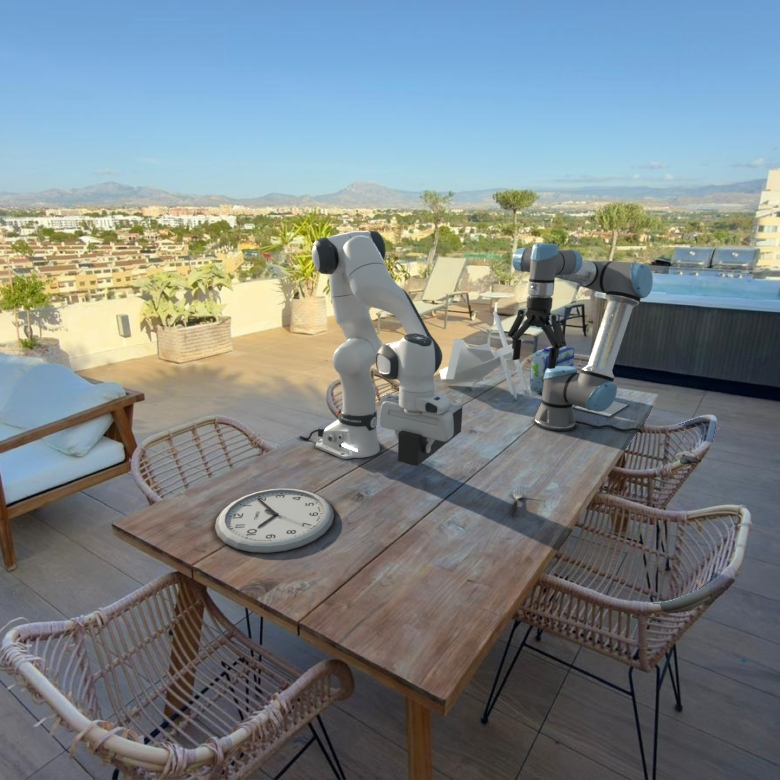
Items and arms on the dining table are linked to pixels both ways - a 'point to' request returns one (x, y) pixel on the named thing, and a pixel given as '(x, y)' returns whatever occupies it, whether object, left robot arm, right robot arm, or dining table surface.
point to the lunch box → (541, 364)
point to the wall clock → (274, 520)
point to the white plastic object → (481, 362)
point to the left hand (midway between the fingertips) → (414, 449)
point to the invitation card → (609, 411)
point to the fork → (517, 496)
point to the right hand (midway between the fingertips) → (533, 363)
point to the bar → (424, 441)
